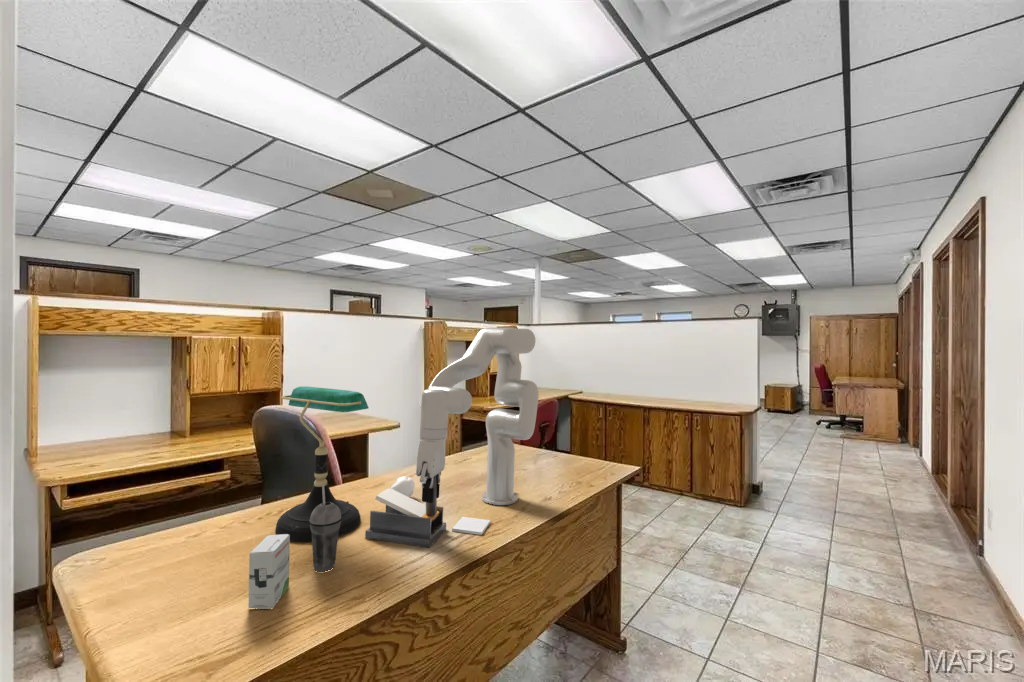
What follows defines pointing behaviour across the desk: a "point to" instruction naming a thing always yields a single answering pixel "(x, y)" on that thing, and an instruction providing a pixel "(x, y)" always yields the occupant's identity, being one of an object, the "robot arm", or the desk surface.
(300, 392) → the banker's lamp
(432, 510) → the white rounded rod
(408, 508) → the tilting box lid
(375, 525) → the tilting lid box
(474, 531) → the mat
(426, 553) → the desk surface
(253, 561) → the ink box
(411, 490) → the white lumpy ball
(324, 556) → the beverage cup
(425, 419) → the robot arm
